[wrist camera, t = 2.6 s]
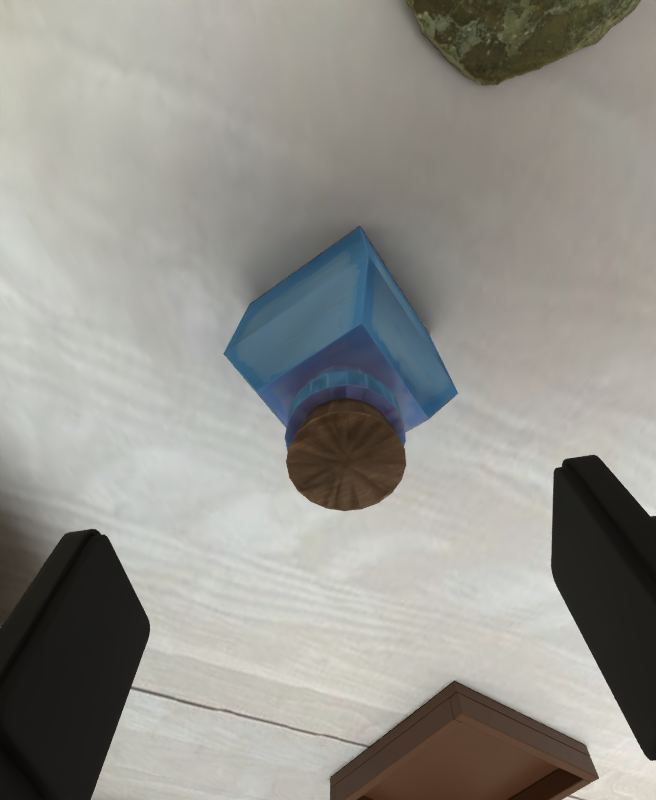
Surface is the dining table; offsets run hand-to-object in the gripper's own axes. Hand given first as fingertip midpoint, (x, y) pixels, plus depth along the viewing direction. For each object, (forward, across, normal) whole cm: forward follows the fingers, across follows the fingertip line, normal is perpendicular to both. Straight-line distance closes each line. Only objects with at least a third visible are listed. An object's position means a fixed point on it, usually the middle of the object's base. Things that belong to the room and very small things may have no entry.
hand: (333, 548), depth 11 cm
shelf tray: (+15, -3, +38) cm, 41 cm away
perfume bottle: (+15, 0, 0) cm, 15 cm away
